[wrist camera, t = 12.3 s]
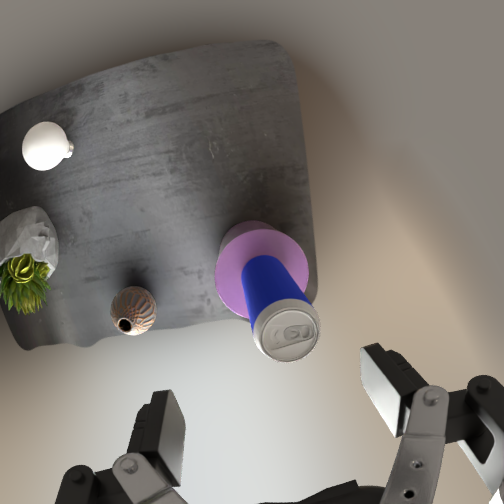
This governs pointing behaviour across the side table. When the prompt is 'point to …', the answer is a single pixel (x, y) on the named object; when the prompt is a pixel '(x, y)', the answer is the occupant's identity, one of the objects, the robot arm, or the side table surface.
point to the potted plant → (27, 257)
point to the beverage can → (278, 311)
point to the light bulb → (46, 146)
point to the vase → (133, 310)
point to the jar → (247, 247)
